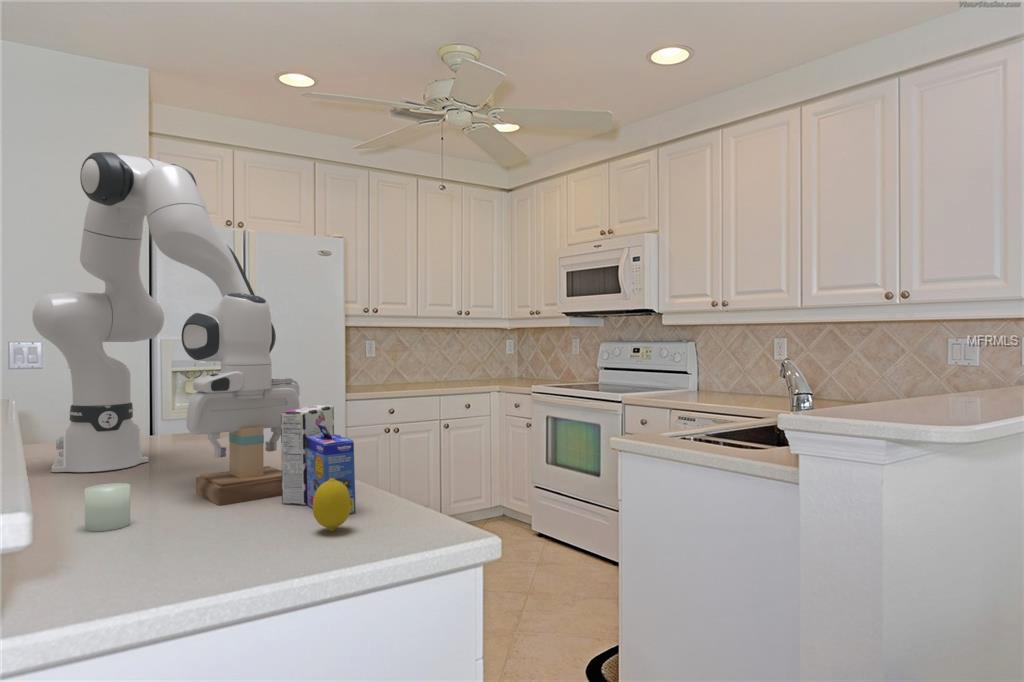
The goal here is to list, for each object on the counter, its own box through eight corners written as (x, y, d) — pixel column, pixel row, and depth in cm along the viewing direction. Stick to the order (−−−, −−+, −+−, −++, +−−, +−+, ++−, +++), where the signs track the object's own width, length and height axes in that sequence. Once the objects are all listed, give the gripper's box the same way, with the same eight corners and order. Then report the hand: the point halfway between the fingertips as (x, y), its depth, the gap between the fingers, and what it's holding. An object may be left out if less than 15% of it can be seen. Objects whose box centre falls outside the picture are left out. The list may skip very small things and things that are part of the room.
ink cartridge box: (304, 505, 114) (304, 422, 114) (335, 501, 117) (335, 420, 117) (324, 518, 106) (324, 428, 106) (356, 513, 109) (356, 426, 109)
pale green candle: (82, 525, 102) (82, 486, 102) (126, 518, 106) (126, 481, 106) (87, 533, 97) (87, 493, 97) (133, 526, 101) (133, 487, 101)
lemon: (315, 538, 95) (315, 483, 95) (310, 528, 100) (310, 476, 100) (353, 534, 98) (353, 480, 97) (347, 524, 103) (347, 473, 103)
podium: (196, 493, 123) (196, 474, 123) (269, 482, 132) (269, 465, 132) (219, 505, 114) (219, 485, 114) (296, 492, 123) (296, 474, 123)
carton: (229, 473, 124) (229, 425, 124) (250, 470, 127) (250, 424, 127) (241, 478, 119) (241, 429, 119) (263, 475, 122) (263, 427, 122)
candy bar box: (311, 490, 126) (311, 404, 126) (335, 491, 125) (335, 405, 125) (279, 504, 115) (279, 410, 115) (305, 506, 114) (305, 411, 114)
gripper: (292, 377, 132) (292, 445, 132) (183, 381, 118) (183, 458, 118) (306, 378, 128) (306, 449, 128) (195, 383, 114) (195, 463, 114)
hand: (246, 453), depth 123 cm, fingers open, 8 cm apart
